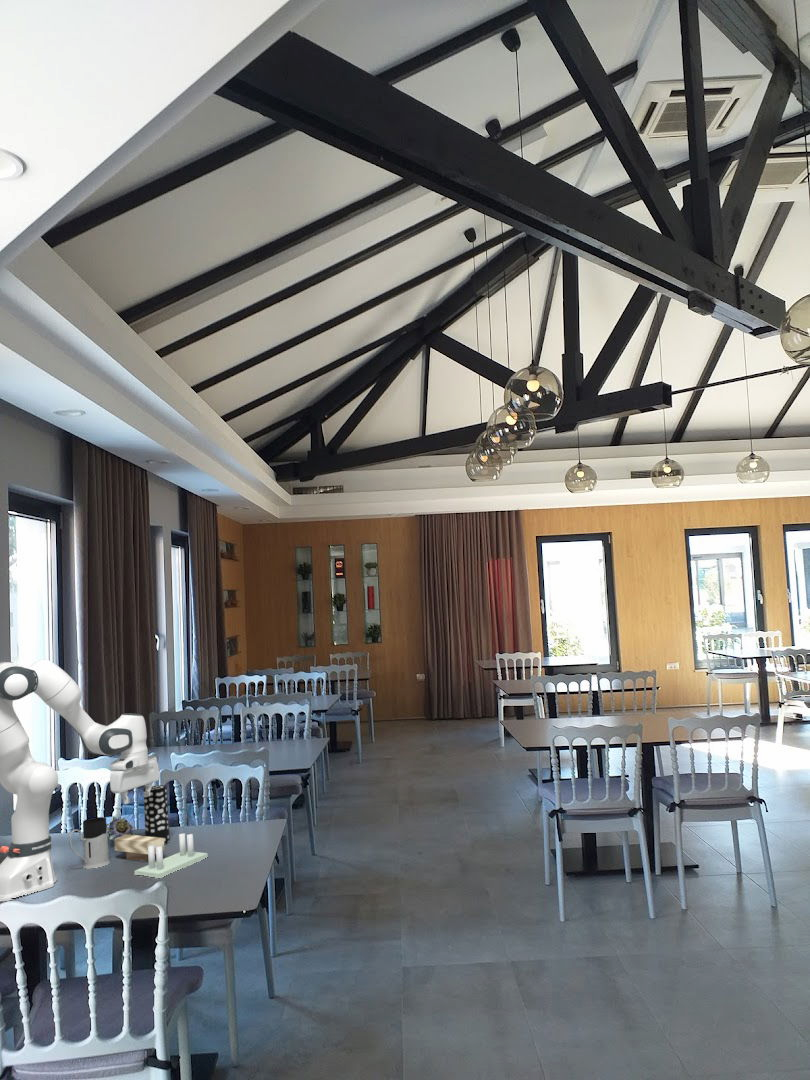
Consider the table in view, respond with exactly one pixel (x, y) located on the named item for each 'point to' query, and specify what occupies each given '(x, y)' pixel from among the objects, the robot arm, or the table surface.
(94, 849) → the electric kettle
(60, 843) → the table surface
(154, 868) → the peg stand
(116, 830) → the passion flower
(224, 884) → the table surface
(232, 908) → the table surface
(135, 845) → the plank
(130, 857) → the riser
